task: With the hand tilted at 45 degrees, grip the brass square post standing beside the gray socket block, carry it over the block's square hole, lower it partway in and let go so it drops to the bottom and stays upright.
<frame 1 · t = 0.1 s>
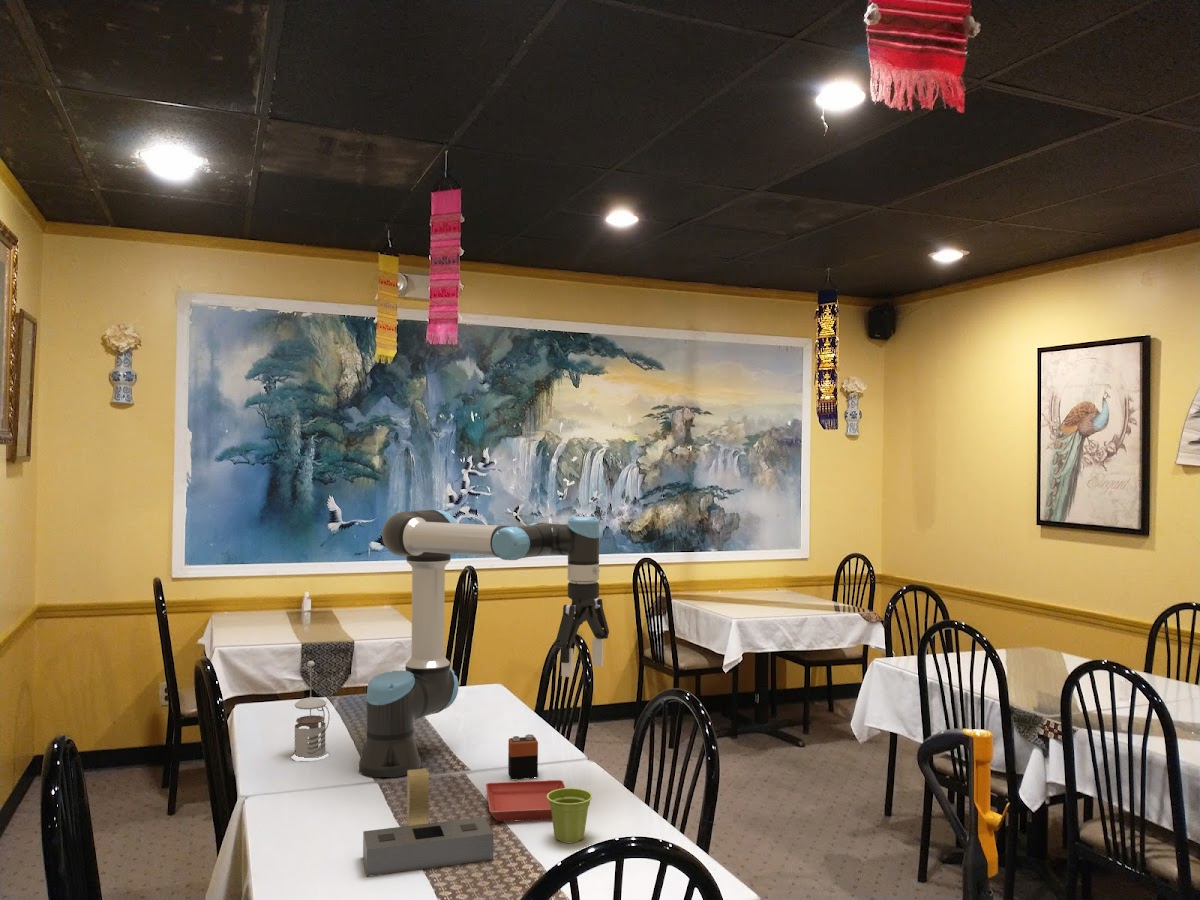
hand: (582, 671, 219), 28 cm above the table, tool pointing down, fingers open, 13 cm apart
battery: (522, 777, 227), on the table
french press: (312, 755, 243), on the table
gray socket block: (428, 858, 180), on the table
brass post: (417, 829, 194), on the table
plant saucer: (527, 810, 207), on the table
plant pot: (569, 838, 190), on the table
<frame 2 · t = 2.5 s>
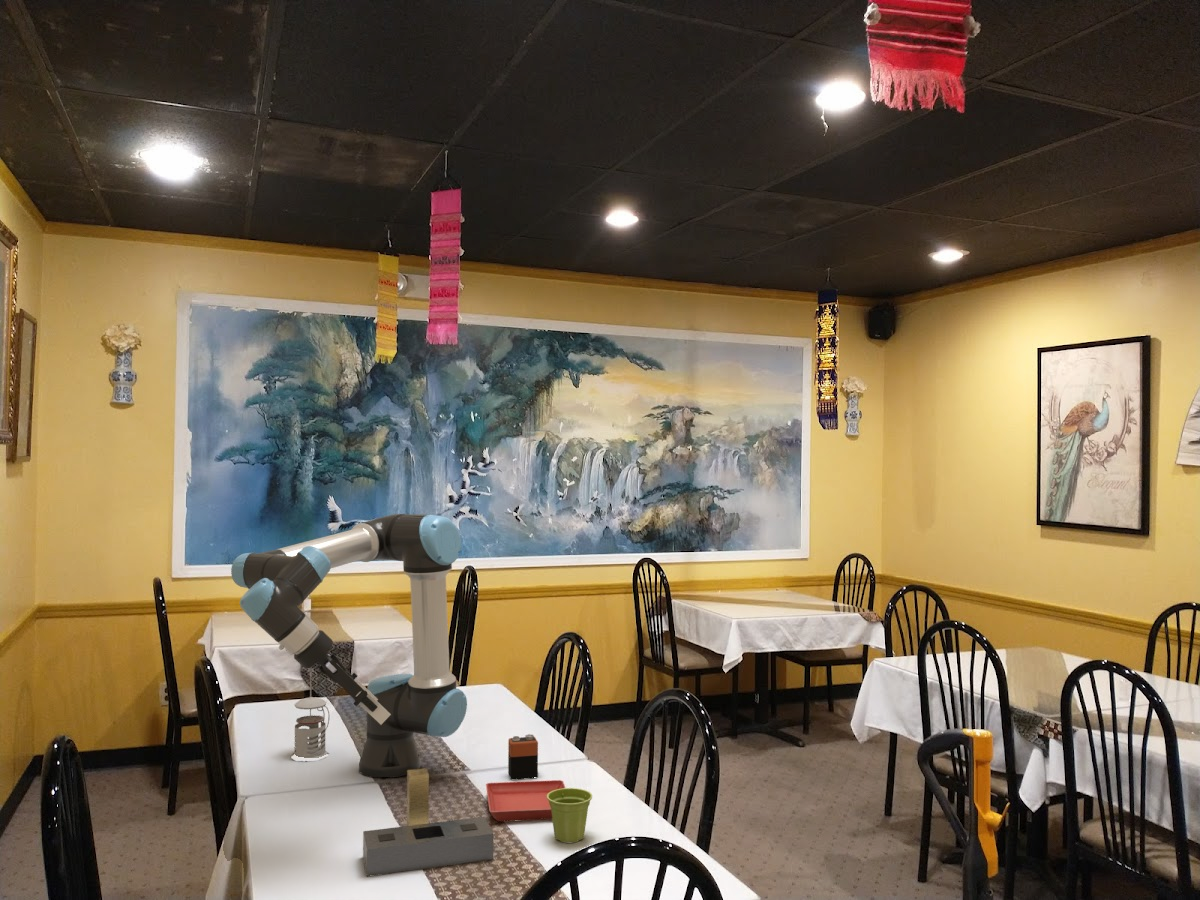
hand: (379, 711, 191), 26 cm above the table, tool tilted 45°, fingers open, 13 cm apart
nothing on the table moved.
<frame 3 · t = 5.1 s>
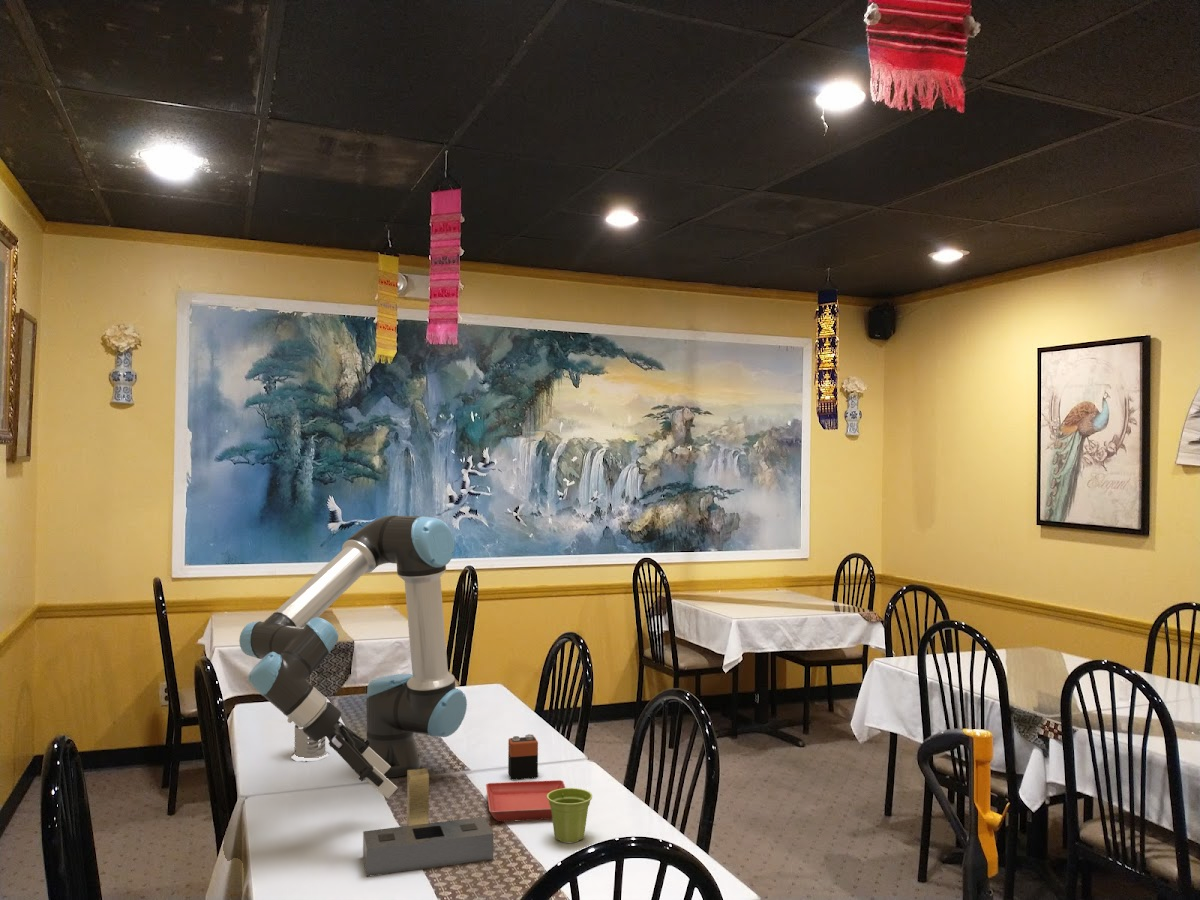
hand: (389, 782, 191), 11 cm above the table, tool tilted 45°, fingers open, 13 cm apart
nothing on the table moved.
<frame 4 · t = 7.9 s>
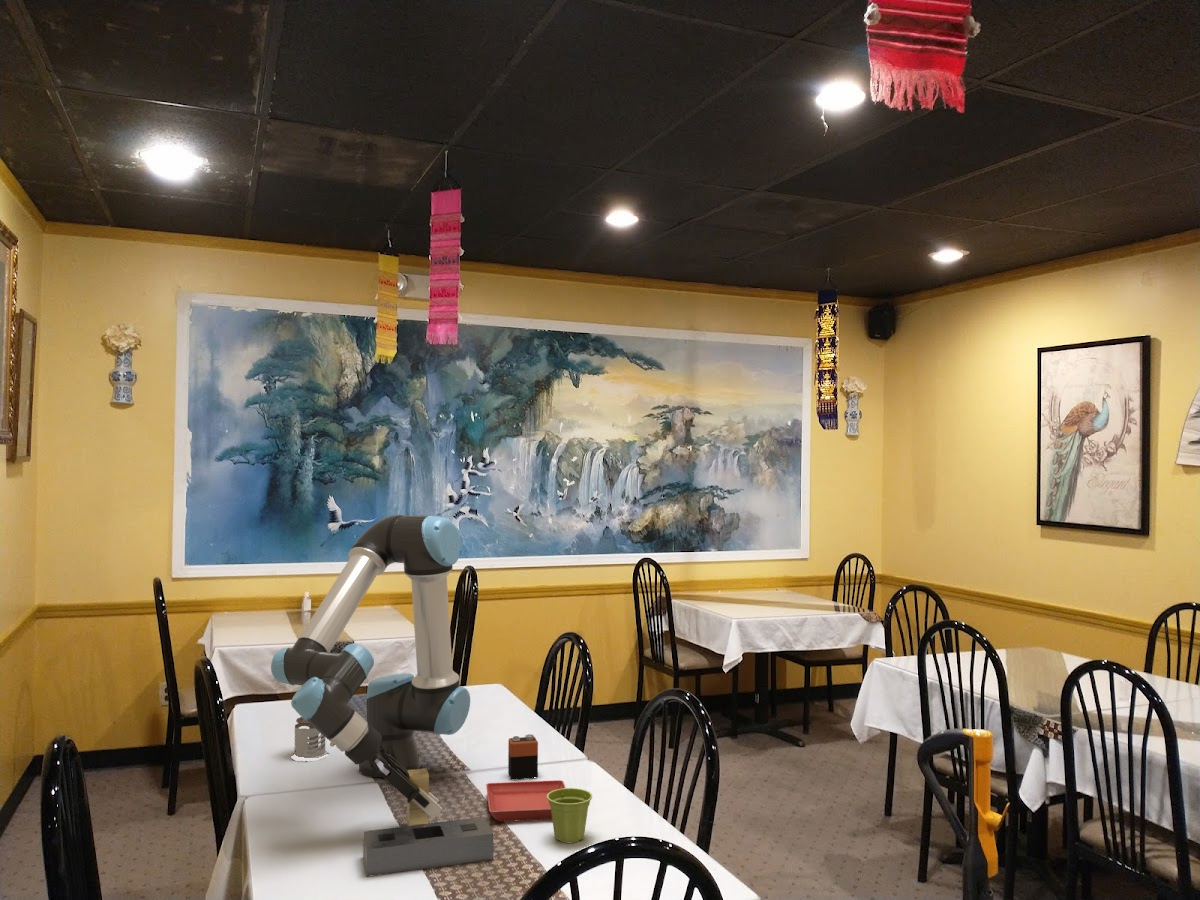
hand: (435, 809, 195), 4 cm above the table, tool tilted 45°, fingers closed on brass post, 4 cm apart
brass post: (417, 829, 194), on the table, touching gripper
everything else where it was.
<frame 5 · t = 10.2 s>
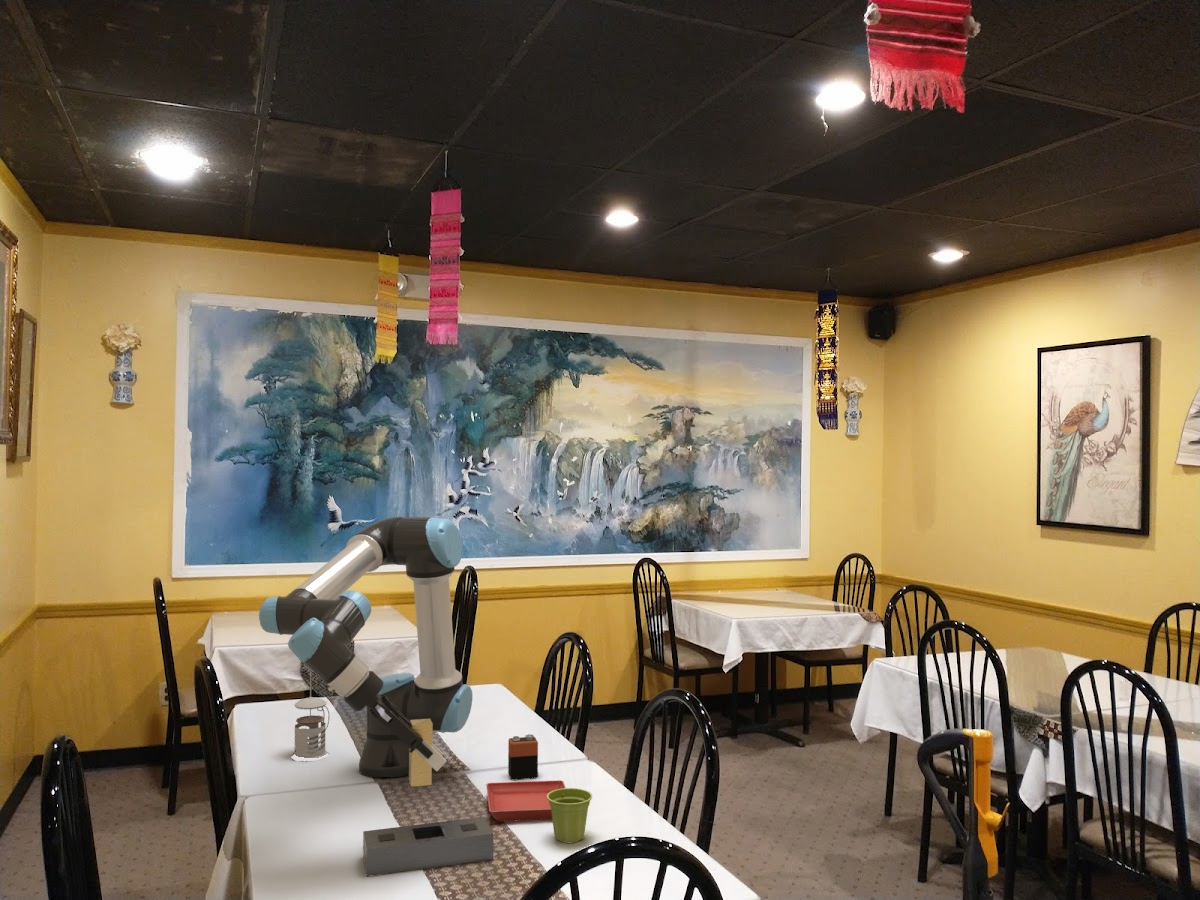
hand: (439, 762, 184), 17 cm above the table, tool tilted 45°, fingers closed on brass post, 4 cm apart
brass post: (420, 782, 183), point 14 cm above the table, touching gripper
everything else where it was.
when the fingers open (7 cm above the table, at t = 12.9 s): brass post drops 2 cm, resting on gray socket block.
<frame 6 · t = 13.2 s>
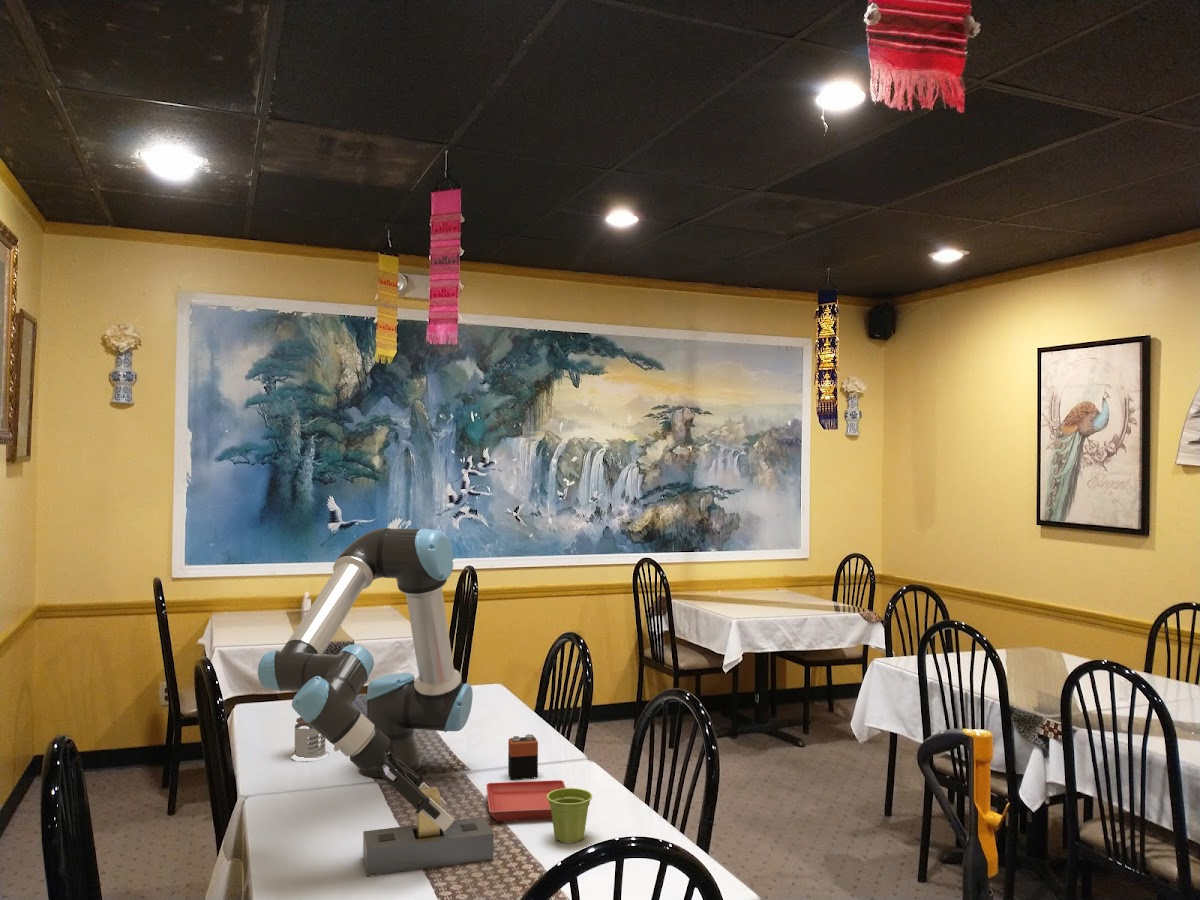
hand: (445, 816, 181), 8 cm above the table, tool tilted 45°, fingers open, 8 cm apart
brass post: (427, 853, 180), point 1 cm above the table, touching gray socket block
everything else where it was.
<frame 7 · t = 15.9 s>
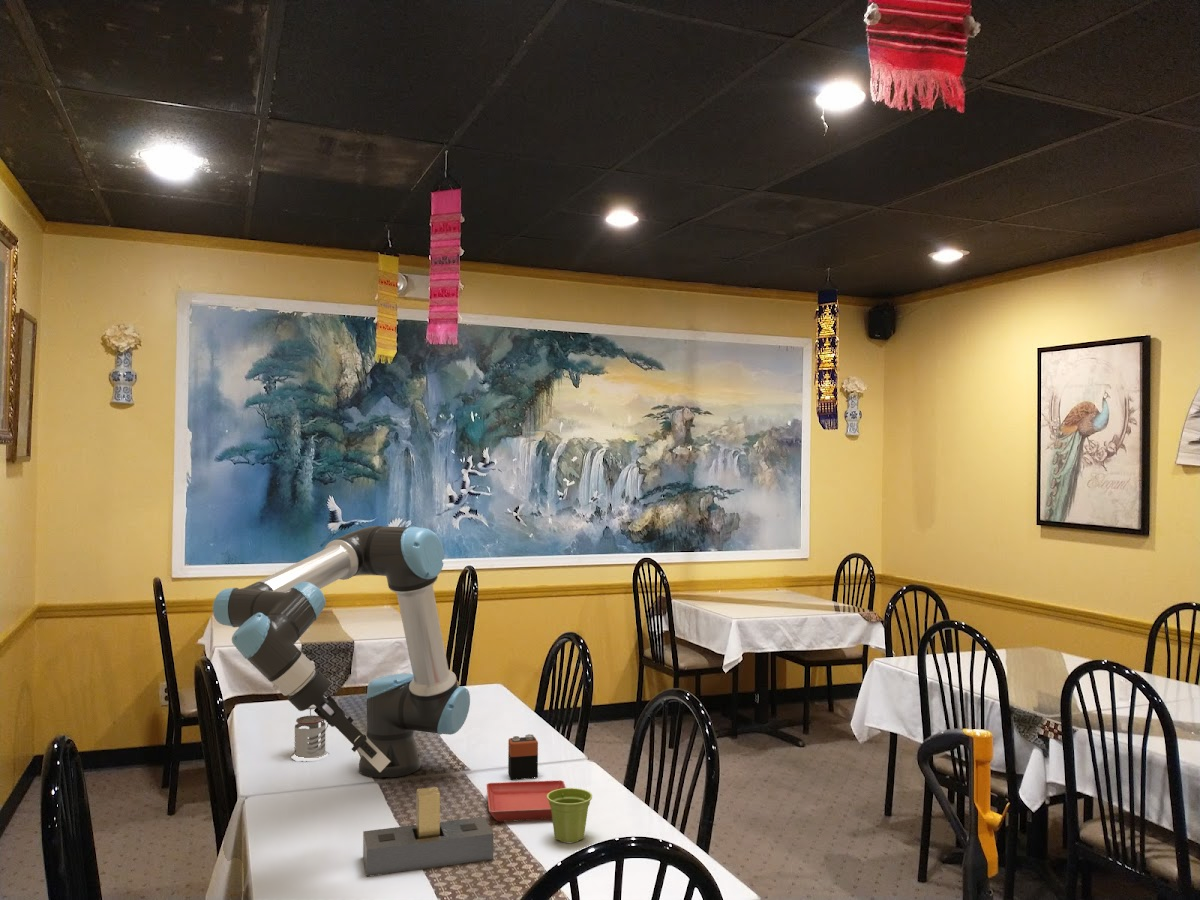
hand: (377, 758, 179), 20 cm above the table, tool tilted 40°, fingers open, 13 cm apart
nothing on the table moved.
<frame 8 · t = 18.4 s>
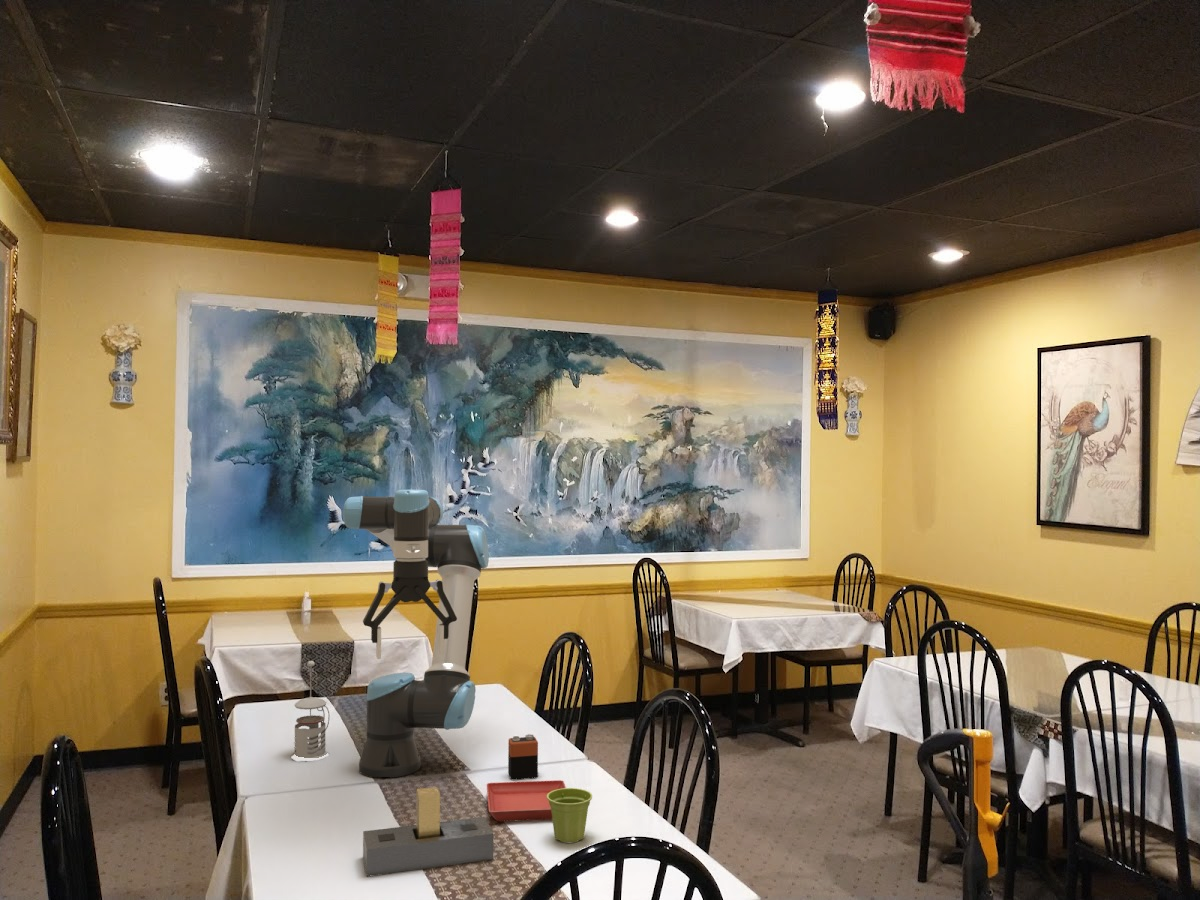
hand: (410, 655, 203), 35 cm above the table, tool pointing down, fingers open, 13 cm apart
nothing on the table moved.
at the end: brass post 0.1 cm off-centre on the gray socket block, point 1.0 cm above the gray socket block's base; brass post tilted 0°; the gripper is holding nothing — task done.
